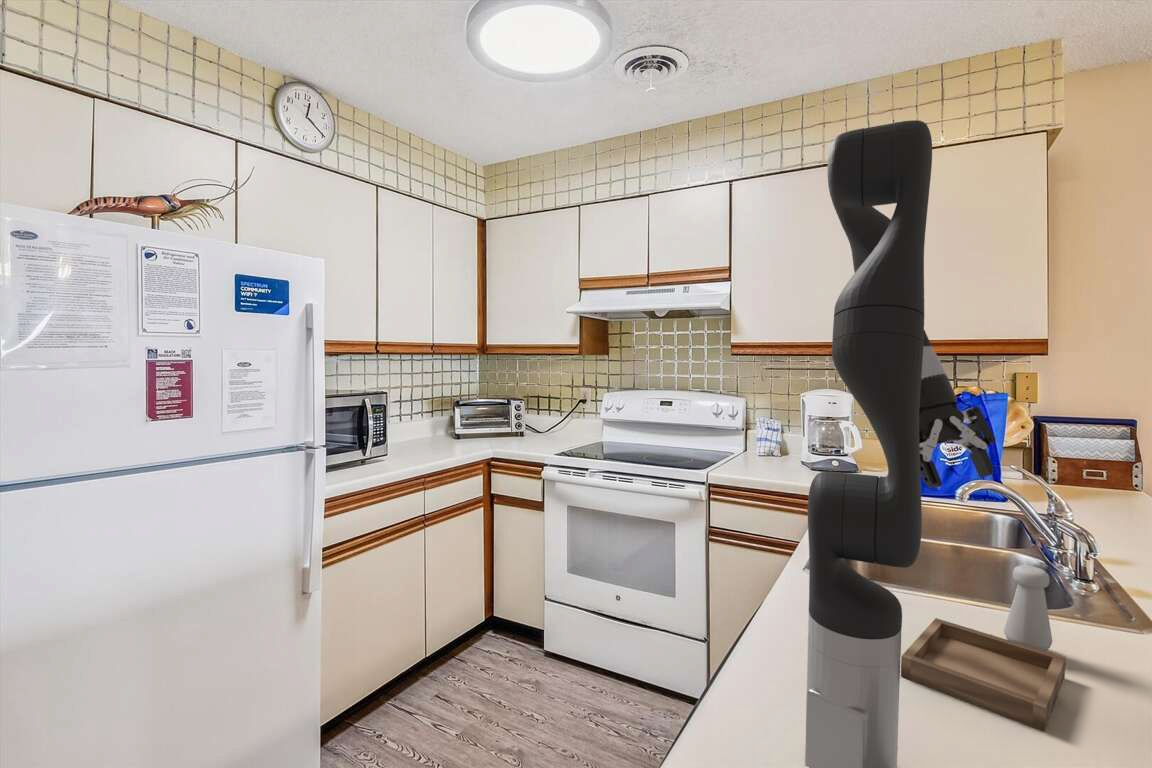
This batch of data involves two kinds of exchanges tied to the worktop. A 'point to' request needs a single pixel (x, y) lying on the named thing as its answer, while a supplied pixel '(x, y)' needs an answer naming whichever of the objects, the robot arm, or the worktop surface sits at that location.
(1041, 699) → the walnut tray
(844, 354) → the robot arm
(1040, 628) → the salt shaker
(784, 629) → the worktop surface
